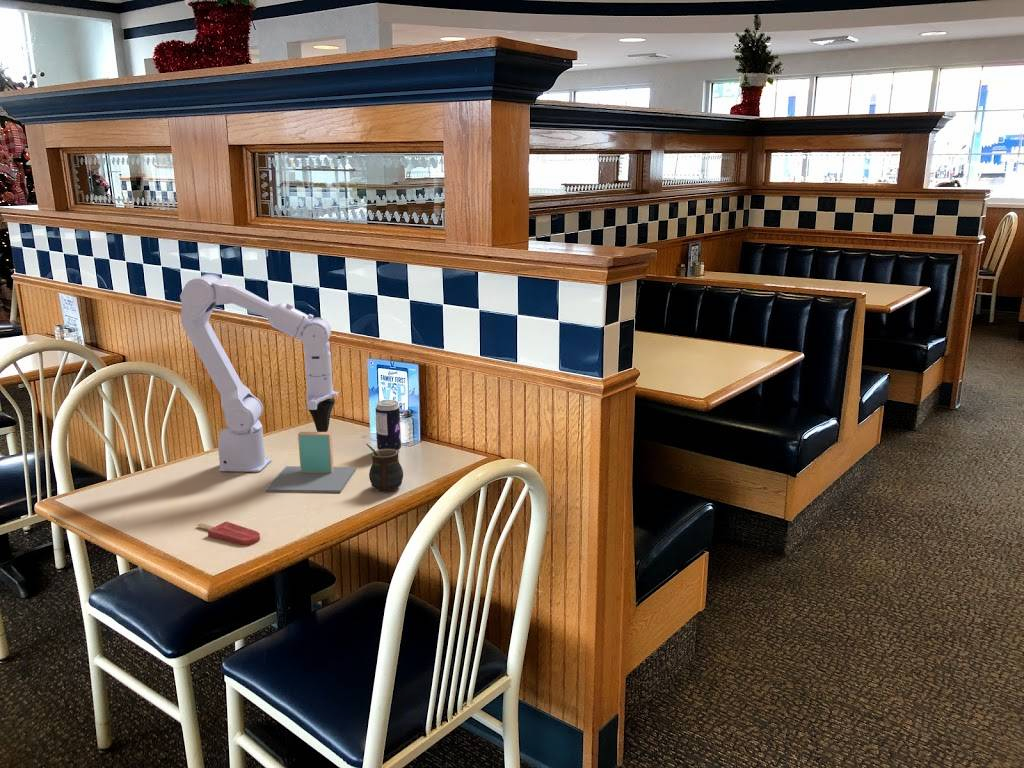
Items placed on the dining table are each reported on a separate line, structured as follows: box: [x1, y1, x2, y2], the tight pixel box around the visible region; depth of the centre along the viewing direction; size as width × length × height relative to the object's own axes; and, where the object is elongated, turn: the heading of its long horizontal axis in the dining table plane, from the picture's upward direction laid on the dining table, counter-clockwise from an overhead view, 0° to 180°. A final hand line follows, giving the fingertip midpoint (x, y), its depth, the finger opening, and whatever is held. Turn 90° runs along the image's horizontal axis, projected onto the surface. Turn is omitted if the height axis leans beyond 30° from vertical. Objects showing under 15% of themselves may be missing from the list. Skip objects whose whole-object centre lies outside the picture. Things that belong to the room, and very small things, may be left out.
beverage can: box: [375, 399, 402, 452], centre depth 196 cm, size 6×6×12 cm
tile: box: [297, 431, 335, 473], centre depth 181 cm, size 7×2×9 cm, turn 87°
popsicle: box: [196, 521, 261, 547], centre depth 152 cm, size 4×2×15 cm
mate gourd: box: [365, 442, 404, 493], centre depth 172 cm, size 7×8×10 cm
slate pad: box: [264, 465, 357, 494], centre depth 178 cm, size 16×14×1 cm
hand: (322, 431), depth 186 cm, fingers closed
